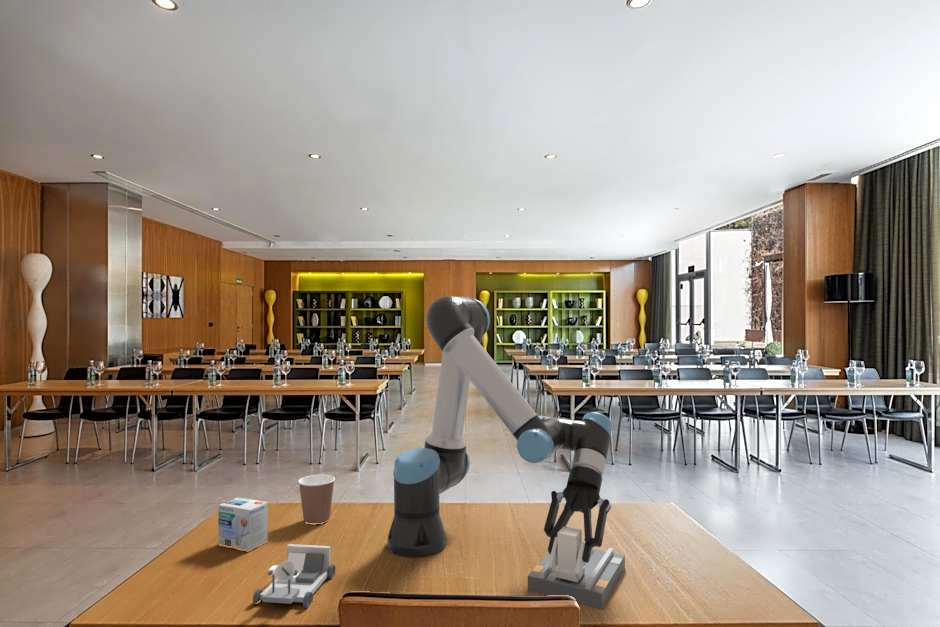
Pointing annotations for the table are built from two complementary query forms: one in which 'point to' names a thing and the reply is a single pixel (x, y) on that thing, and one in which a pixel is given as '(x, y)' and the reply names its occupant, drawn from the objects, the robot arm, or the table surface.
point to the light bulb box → (242, 523)
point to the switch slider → (568, 553)
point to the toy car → (298, 575)
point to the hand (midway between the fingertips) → (564, 572)
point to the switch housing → (592, 584)
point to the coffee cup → (316, 497)
